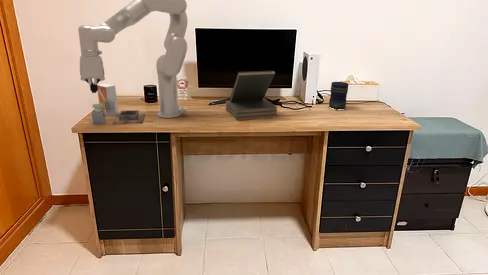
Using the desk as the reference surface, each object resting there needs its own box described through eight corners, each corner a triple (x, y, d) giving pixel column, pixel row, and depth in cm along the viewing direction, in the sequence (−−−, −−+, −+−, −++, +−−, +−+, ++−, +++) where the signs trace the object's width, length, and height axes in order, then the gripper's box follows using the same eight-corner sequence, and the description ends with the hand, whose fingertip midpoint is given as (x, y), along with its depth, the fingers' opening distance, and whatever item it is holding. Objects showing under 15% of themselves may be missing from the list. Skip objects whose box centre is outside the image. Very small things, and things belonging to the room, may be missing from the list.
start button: (104, 117, 173) (102, 103, 170) (102, 119, 169) (101, 105, 166) (95, 117, 172) (93, 103, 170) (93, 120, 168) (91, 106, 166)
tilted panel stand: (263, 108, 203) (265, 65, 194) (276, 118, 186) (279, 71, 177) (225, 111, 196) (226, 66, 187) (236, 121, 179) (236, 73, 170)
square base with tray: (144, 115, 184) (144, 108, 183) (142, 123, 172) (142, 116, 170) (117, 115, 182) (116, 109, 180) (113, 124, 169) (112, 117, 168)
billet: (117, 113, 187) (116, 98, 184) (116, 115, 182) (114, 101, 179) (108, 113, 186) (106, 98, 183) (106, 116, 181) (104, 101, 178)
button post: (105, 120, 174) (104, 109, 172) (103, 123, 169) (102, 112, 167) (95, 121, 173) (93, 109, 171) (93, 124, 169) (91, 112, 166)
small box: (99, 107, 196) (96, 84, 191) (109, 105, 201) (106, 83, 196) (108, 110, 191) (105, 86, 187) (118, 107, 196) (115, 85, 192)
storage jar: (347, 110, 201) (350, 85, 196) (330, 110, 201) (333, 85, 196) (343, 106, 211) (346, 81, 205) (327, 105, 211) (329, 81, 205)
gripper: (108, 52, 164) (112, 90, 171) (74, 52, 161) (79, 90, 168) (105, 54, 157) (109, 94, 164) (70, 54, 154) (75, 94, 161)
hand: (94, 92), depth 166 cm, fingers closed
